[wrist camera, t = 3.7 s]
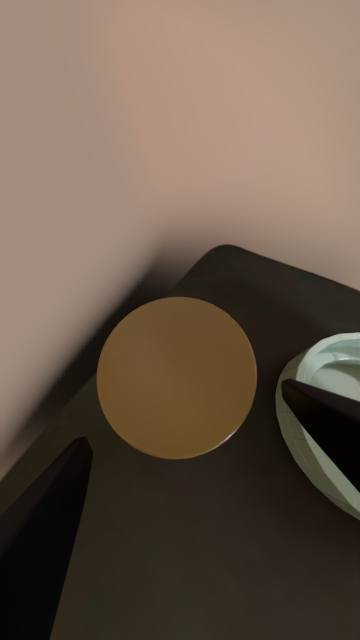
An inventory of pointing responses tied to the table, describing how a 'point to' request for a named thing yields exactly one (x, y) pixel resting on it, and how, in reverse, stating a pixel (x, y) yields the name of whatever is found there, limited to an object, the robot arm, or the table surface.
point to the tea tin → (176, 378)
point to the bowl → (335, 376)
